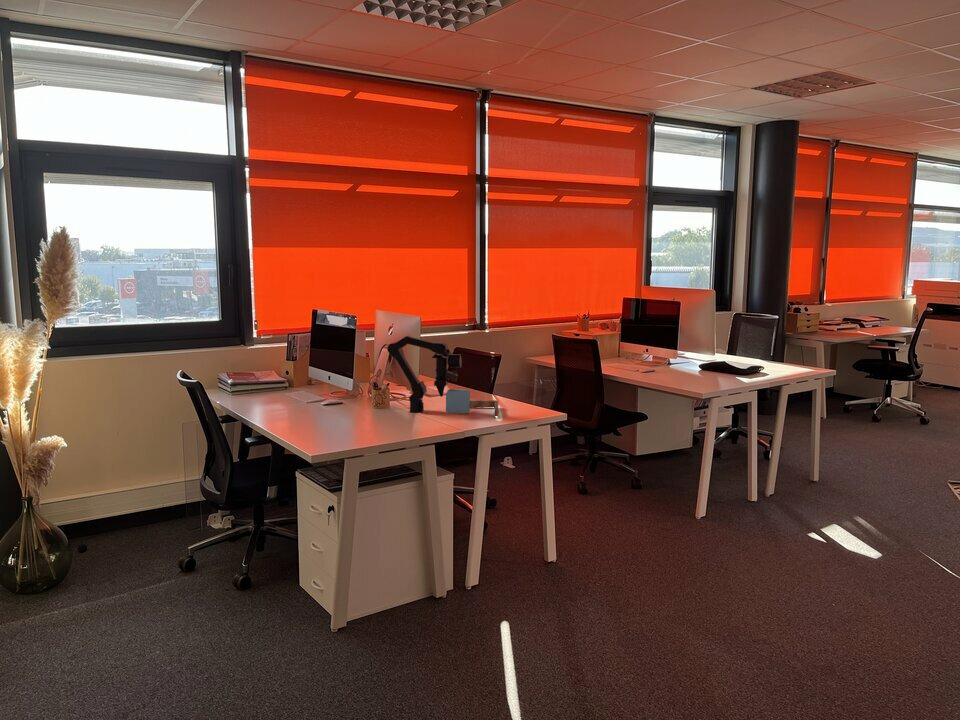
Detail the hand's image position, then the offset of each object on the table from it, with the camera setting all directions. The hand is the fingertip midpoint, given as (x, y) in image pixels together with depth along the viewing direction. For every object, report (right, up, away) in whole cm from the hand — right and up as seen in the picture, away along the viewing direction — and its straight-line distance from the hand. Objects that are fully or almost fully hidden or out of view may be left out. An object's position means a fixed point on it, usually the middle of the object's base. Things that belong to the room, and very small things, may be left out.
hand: (441, 396), depth 364 cm
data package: (+9, -9, +1) cm, 12 cm away
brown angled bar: (+20, -9, +2) cm, 21 cm away
